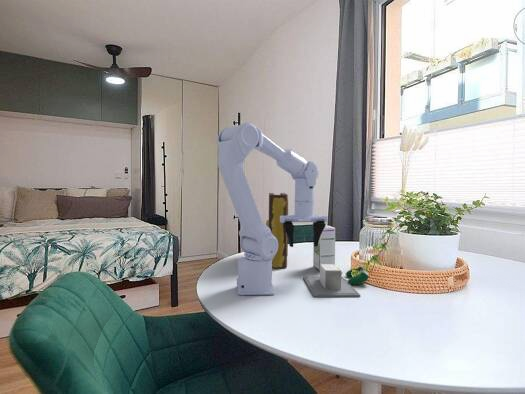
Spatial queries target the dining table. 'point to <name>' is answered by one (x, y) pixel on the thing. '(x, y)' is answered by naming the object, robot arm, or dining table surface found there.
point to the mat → (320, 291)
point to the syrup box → (325, 248)
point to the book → (278, 228)
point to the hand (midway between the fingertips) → (303, 245)
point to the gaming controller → (358, 276)
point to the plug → (330, 277)
